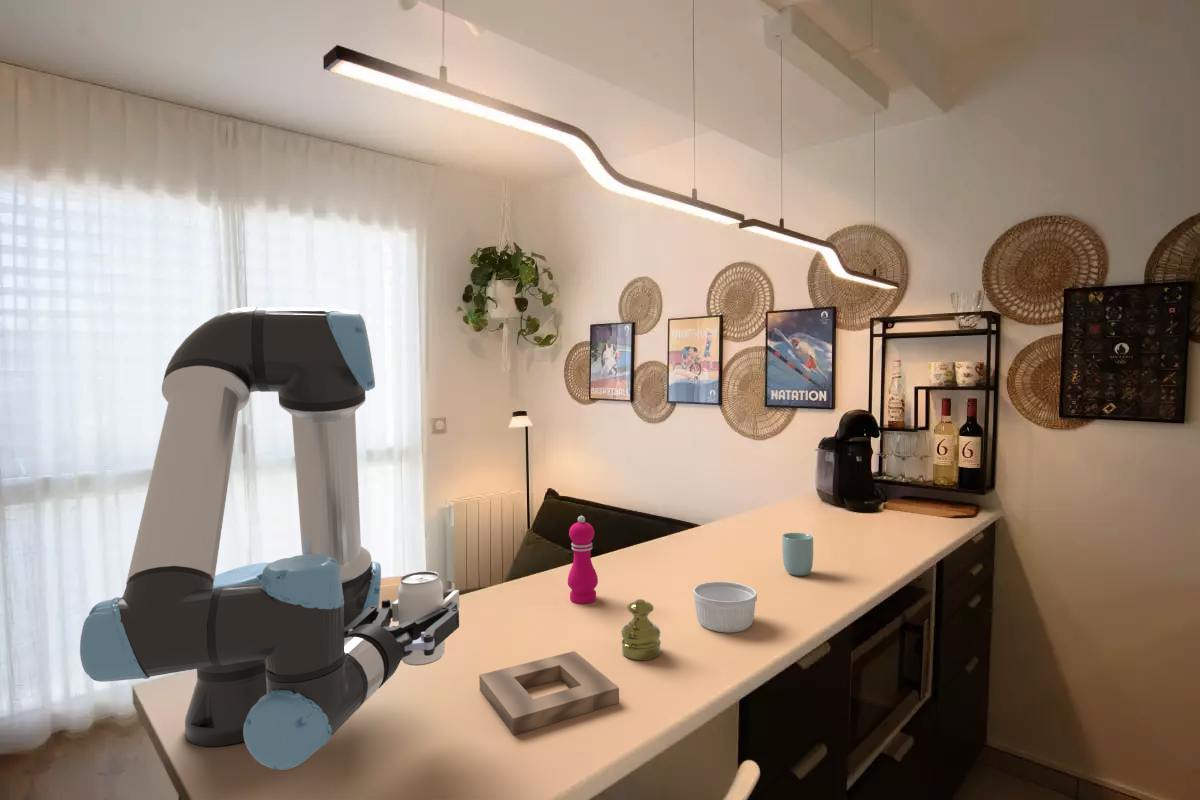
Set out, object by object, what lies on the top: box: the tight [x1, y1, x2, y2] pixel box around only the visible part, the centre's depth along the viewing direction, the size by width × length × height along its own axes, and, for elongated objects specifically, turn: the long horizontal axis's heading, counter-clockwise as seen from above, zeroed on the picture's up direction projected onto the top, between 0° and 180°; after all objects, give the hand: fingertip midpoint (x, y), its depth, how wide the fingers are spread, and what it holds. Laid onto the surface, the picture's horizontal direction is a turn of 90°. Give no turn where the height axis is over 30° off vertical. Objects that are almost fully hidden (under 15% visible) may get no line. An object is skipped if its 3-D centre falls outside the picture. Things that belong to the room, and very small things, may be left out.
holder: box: [478, 650, 620, 736], centre depth 103 cm, size 18×16×2 cm
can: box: [397, 570, 446, 666], centre depth 93 cm, size 6×6×12 cm
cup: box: [781, 532, 814, 577], centre depth 165 cm, size 8×8×10 cm
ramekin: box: [692, 581, 758, 634], centre depth 132 cm, size 13×13×7 cm
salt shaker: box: [620, 598, 662, 661], centre depth 119 cm, size 7×7×10 cm
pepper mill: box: [567, 515, 599, 605], centre depth 149 cm, size 7×7×20 cm
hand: (435, 597), depth 98 cm, fingers closed on can, 6 cm apart
